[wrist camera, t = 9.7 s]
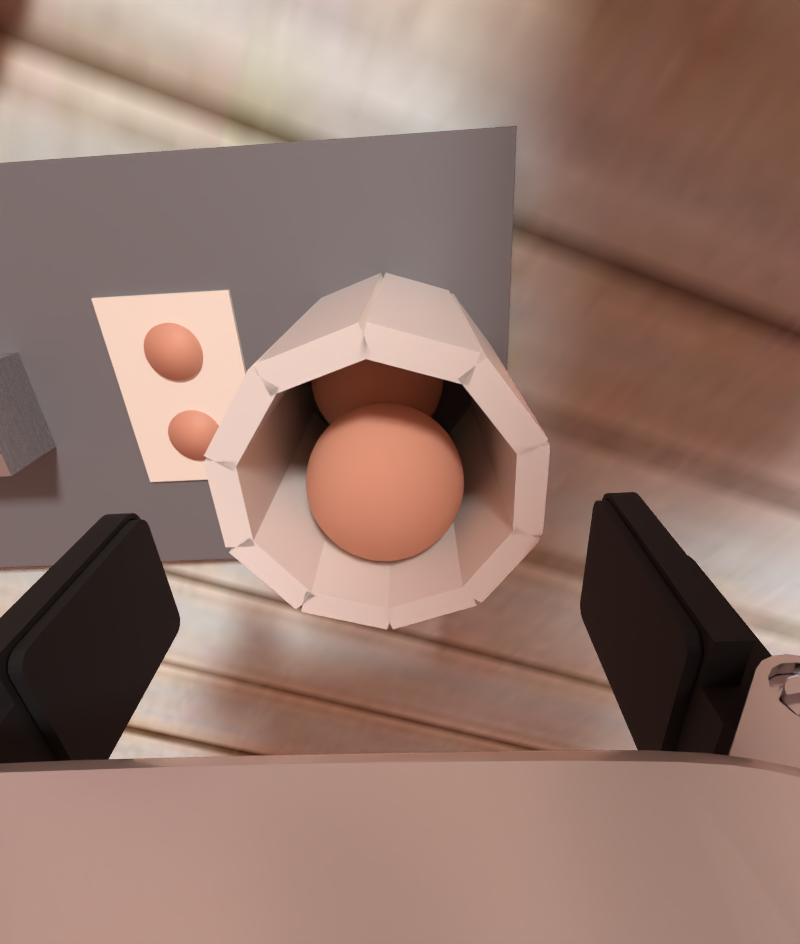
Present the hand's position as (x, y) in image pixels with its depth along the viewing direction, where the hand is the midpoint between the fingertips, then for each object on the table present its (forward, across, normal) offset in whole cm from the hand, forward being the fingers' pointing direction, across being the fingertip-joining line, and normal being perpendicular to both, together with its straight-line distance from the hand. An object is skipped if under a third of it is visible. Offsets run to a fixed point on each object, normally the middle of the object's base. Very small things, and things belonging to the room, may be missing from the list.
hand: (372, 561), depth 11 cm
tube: (+13, 0, 0) cm, 13 cm away
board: (+14, +9, 0) cm, 16 cm away
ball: (+6, 0, +1) cm, 6 cm away
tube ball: (+10, 0, -1) cm, 10 cm away
